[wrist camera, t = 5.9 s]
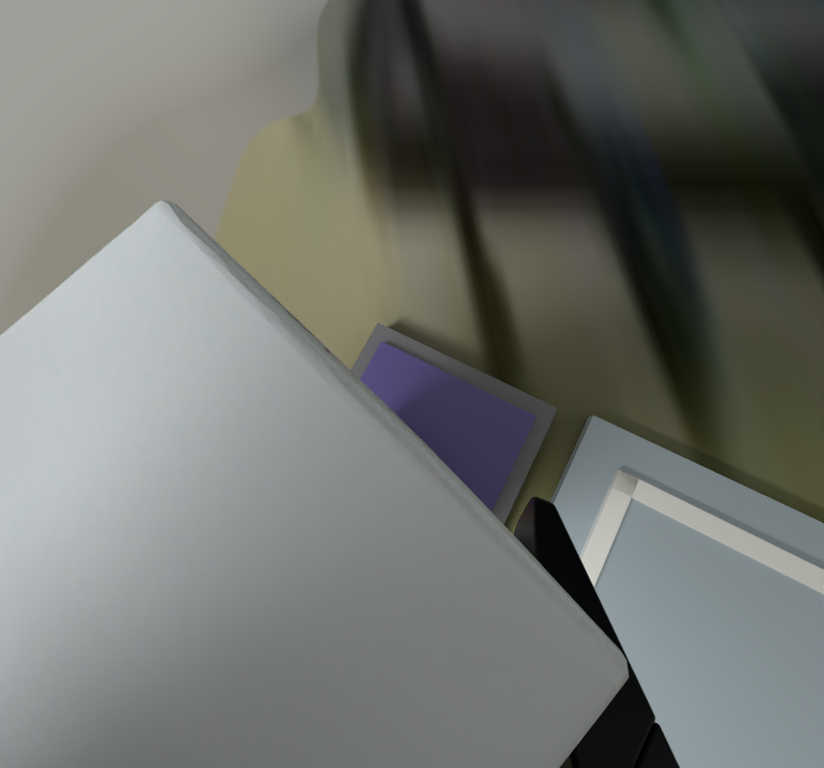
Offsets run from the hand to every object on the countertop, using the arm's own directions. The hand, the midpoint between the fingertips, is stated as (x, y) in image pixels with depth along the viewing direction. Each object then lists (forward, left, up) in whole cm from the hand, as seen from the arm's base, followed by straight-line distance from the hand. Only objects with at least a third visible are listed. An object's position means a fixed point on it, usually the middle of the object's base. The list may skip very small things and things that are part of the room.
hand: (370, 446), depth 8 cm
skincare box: (-1, 0, -7) cm, 7 cm away
